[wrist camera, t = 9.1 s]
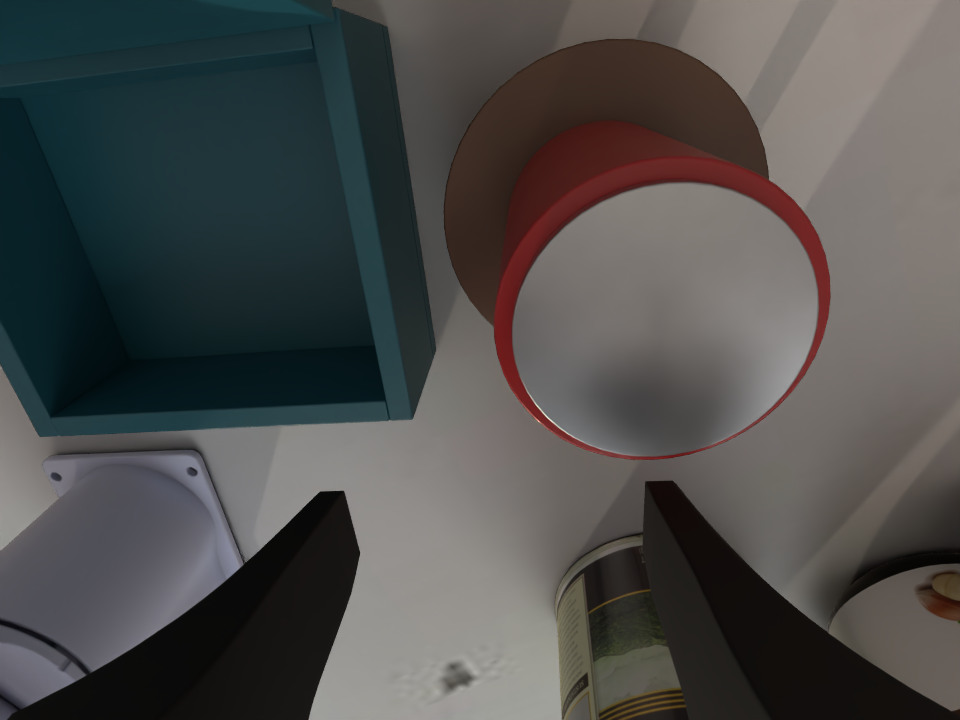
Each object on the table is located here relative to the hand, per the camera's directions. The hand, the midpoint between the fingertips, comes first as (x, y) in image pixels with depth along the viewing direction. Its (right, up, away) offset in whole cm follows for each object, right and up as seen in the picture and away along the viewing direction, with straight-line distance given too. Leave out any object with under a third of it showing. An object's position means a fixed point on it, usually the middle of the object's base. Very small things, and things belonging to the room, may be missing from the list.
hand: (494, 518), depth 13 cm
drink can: (+3, +8, +2) cm, 9 cm away
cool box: (-10, +9, +8) cm, 15 cm away
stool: (+3, +10, +6) cm, 12 cm away
